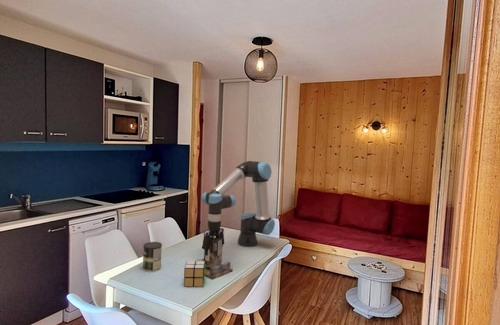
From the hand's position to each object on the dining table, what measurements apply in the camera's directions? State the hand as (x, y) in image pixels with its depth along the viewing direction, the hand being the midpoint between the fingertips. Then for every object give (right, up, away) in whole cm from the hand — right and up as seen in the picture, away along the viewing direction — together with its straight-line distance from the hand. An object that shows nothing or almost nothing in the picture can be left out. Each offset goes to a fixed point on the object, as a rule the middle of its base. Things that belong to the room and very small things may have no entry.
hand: (212, 258), depth 172 cm
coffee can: (-36, -6, 0) cm, 36 cm away
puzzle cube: (-8, -8, -16) cm, 19 cm away
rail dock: (0, -7, 0) cm, 7 cm away
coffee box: (0, -4, 0) cm, 4 cm away
